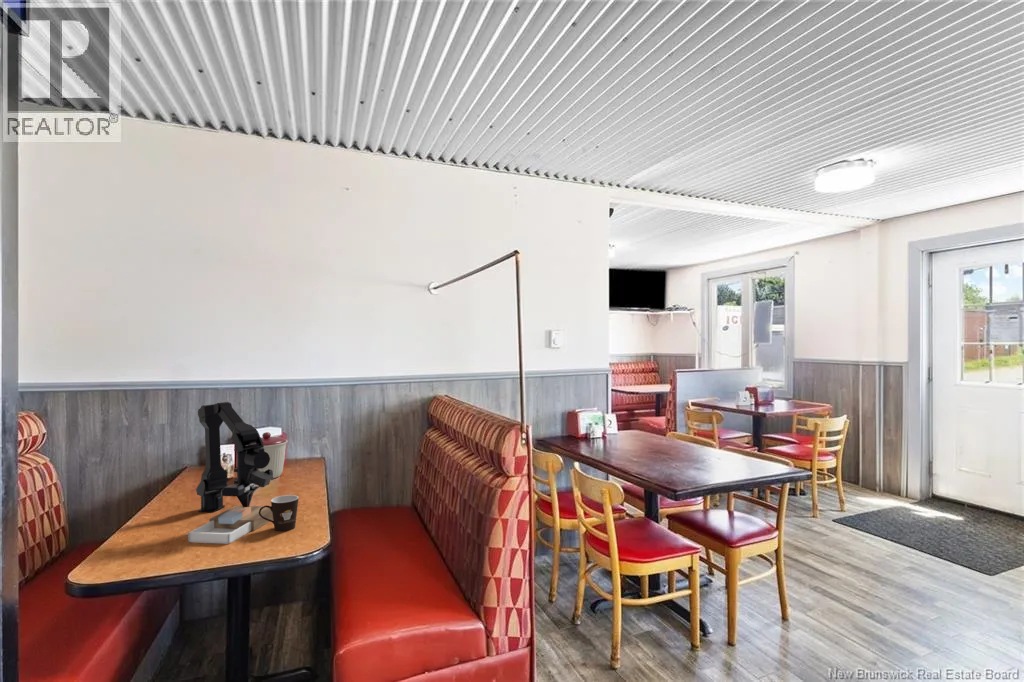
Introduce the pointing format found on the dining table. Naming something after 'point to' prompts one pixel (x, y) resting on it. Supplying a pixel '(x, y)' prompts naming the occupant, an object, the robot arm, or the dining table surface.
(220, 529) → the tray
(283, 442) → the canister
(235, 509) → the terracotta tile
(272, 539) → the dining table surface
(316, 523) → the dining table surface
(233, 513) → the slate tile
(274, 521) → the coffee mug
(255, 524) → the walnut board
